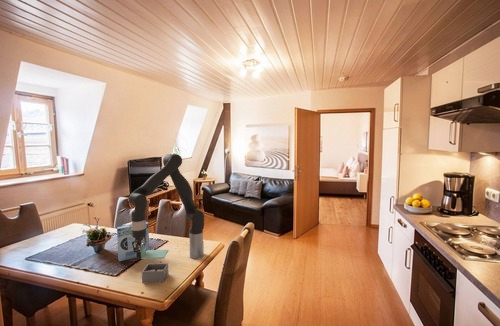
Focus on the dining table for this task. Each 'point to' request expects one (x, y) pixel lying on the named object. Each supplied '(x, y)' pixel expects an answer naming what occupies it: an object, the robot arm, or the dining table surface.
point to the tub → (155, 273)
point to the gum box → (128, 242)
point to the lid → (152, 253)
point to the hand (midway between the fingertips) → (140, 256)
